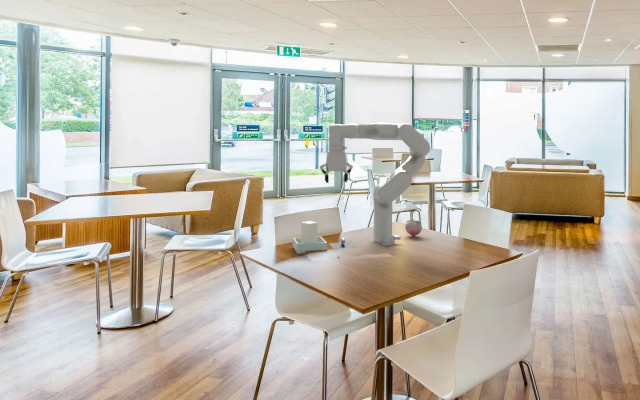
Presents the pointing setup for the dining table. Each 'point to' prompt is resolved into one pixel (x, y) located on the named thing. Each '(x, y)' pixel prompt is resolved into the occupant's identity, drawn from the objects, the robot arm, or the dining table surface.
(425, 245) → the dining table surface
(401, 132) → the robot arm
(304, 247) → the bin
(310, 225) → the light grey block
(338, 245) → the stud base
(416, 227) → the decorative fruit
